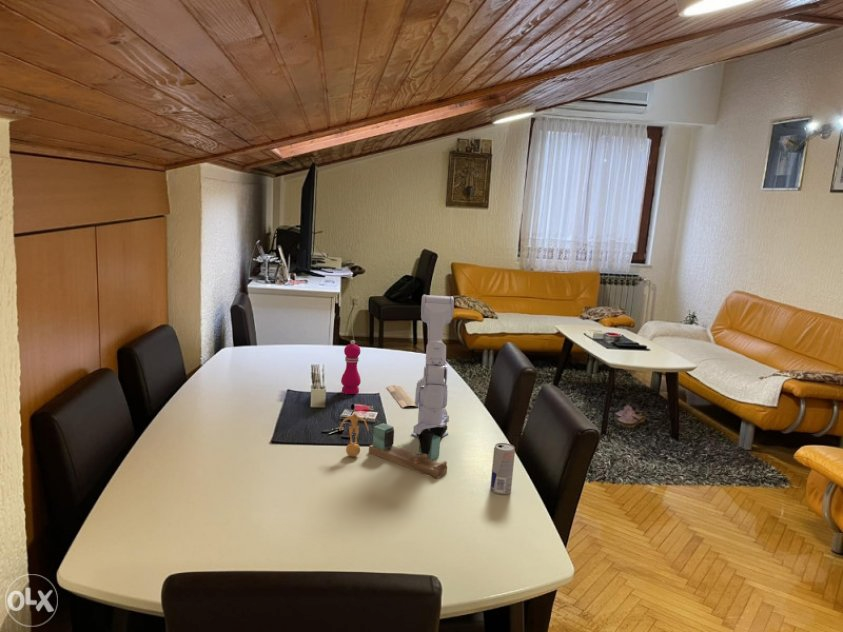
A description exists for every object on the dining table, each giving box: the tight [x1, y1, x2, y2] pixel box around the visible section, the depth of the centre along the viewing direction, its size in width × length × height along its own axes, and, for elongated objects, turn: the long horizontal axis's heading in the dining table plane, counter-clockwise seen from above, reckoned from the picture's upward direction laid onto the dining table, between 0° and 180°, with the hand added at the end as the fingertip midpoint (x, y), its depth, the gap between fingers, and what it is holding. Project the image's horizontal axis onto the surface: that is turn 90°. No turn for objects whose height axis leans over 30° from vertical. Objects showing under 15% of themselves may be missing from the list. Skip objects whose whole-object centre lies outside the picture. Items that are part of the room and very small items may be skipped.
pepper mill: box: [340, 339, 362, 395], centre depth 233 cm, size 7×7×20 cm
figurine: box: [338, 413, 369, 458], centre depth 178 cm, size 8×6×12 cm
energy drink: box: [490, 442, 516, 496], centre depth 162 cm, size 5×5×12 cm
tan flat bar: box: [386, 384, 419, 409], centre depth 233 cm, size 24×7×2 cm, turn 17°
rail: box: [368, 423, 448, 479], centre depth 176 cm, size 5×24×8 cm, turn 53°
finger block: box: [418, 435, 441, 461], centre depth 181 cm, size 4×5×6 cm
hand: (429, 451), depth 181 cm, fingers closed on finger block, 4 cm apart
